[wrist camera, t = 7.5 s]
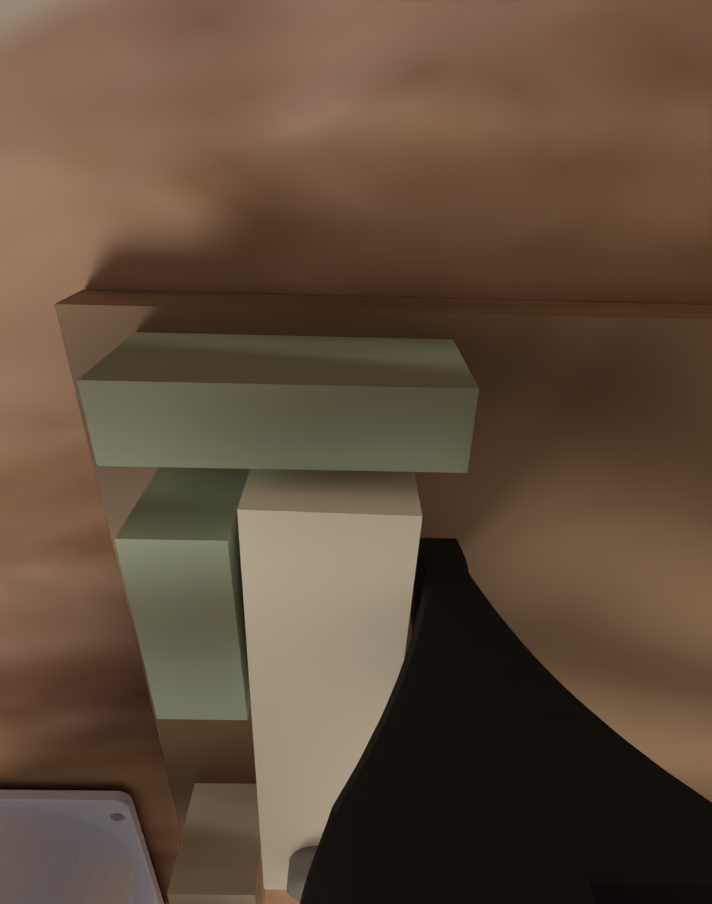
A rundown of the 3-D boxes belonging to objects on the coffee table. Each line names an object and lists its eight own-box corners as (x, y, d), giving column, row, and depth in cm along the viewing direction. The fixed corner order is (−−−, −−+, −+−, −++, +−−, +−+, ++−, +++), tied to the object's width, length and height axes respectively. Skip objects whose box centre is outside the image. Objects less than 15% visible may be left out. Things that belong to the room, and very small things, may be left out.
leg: (371, 786, 17) (374, 917, 14) (276, 784, 17) (260, 916, 14) (407, 437, 11) (426, 539, 8) (262, 431, 11) (229, 532, 8)
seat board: (701, 805, 20) (777, 948, 17) (191, 800, 20) (155, 945, 16) (989, 311, 12) (1288, 386, 8) (83, 289, 11) (-50, 357, 8)
